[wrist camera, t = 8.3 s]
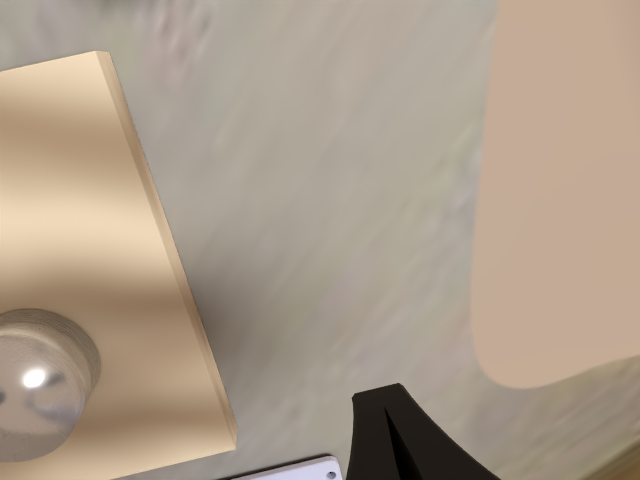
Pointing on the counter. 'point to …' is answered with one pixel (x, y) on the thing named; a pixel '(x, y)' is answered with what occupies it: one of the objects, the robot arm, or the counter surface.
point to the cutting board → (103, 273)
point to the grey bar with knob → (42, 381)
